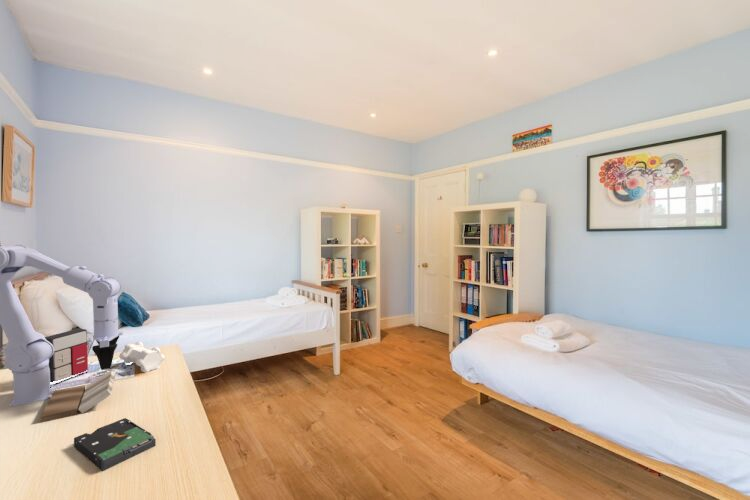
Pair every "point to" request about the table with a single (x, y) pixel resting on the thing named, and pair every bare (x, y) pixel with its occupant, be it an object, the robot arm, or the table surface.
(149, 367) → the bone shaped toy
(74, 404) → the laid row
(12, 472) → the table surface
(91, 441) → the disk drive
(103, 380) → the plank
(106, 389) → the plank
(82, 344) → the calculator
